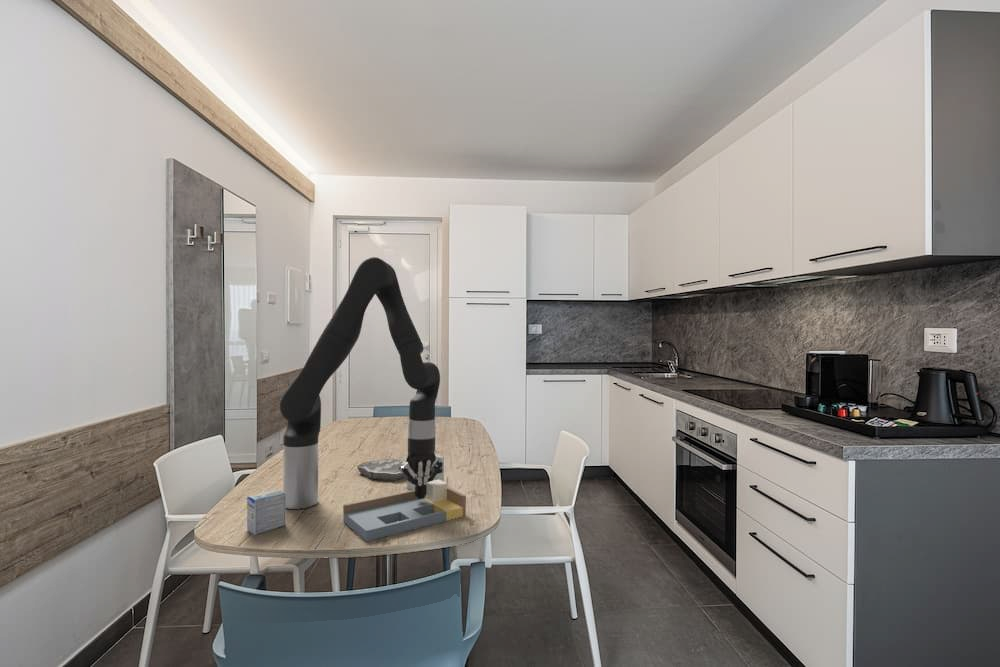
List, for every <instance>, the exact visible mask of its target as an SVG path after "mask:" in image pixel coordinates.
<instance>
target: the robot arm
mask: <svg viewBox="0 0 1000 667" xmlns="http://www.w3.org/2000/svg"><path fill="white" fill-rule="evenodd" d="M399 284H400V283H399V280H398V277H397V273H396V270H395V268H394V267H393V266H392V265H391V264H389V263H387V261H385V260H384V259H381V258H379V257H378V256H377V257H376V256H372V257H371V256H369V257H368V258H365V259H364V260H363V261H361V263H360V264H359V265H358V267H357V269H356V271H355V273H354V275H353V277H352V279H351V282H350V283H349V286H348V288H347V290H346V292H345V294H344V296H343V298H342V299H341V301H340V303H339V304H338V306H337V308H336V310H335V311H334V313H333V315H332V317H331V319H329V322H328V323H327V324H326V326H325V327H324V330H323V331H322V333H321V335H320V336H319V337H318V340H317V342H316V343H315V345H314V347H313V349H312V350H311V353H310V354H309V356H308V358H307V360H306V362H305V364H304V366H303V368H302V369H301V372H300V373H299V374H298V375H297V377H296V378H295V380H294V381H293V383H292V384H290V387H289V388H287V390H286V391H285V393H284V394H283V396H282V397H281V400H280V403H279V410H280V414H281V415H282V417H283V418H284V419H285V420H286V421H287V427H286V430H285V433H284V435H283V474H282V476H283V482H282V483H283V484H282V485H283V487H282V488H283V490H282V491H283V492H285V493H286V509H291V510H300V509H301V508H302V509H306V508H310V507H314V506H315V505H317V504H318V502H319V436H320V432H321V420H322V419H321V418H322V400H321V397H320V394H321V391H322V390H323V388H324V387H325V385H326V383H327V382H328V381H329V379H330V378H331V377H332V375H333V374H334V373H335V372H336V371H337V370H338V369H339V368H340V366H341V365H342V364H343V363H344V362H345V360H346V359H347V358H348V356H349V354H350V353H351V352H352V350H353V348H354V346H355V345H356V343H357V342H358V339H359V338H360V334H361V331H362V327H363V322H364V316H365V313H366V310H367V308H368V306H369V304H370V303H371V301H372V300H373V298H374V297H375V296H376V297H377V298H378V300H379V302H380V303H381V306H382V307H383V310H384V312H385V315H386V321H387V325H388V330H389V333H390V336H391V338H392V341H393V344H394V346H395V348H396V350H397V352H398V355H399V359H400V365H401V370H402V374H403V378H404V381H405V382H406V383H407V385H408V386H409V387H410V388H411V389H414V390H416V392H415V396H414V397H412V398H410V400H409V409H408V410H409V415H408V418H409V419H408V426H407V454H408V457H407V456H406V460H405V461H406V463H405V464H404V465H403V466H400V467H399V470H400V471H401V473H402V474H403V475H404V477H403V478H405V480H406V481H407V480H408V482H410V483H412V484H413V485H415V496H417V498H419V499H422V498H425V496H426V490H427V483H428V482H430V481H433V479H434V478H435V476H436V475H437V473H438V471H439V470H440V468H441V467H442V465H443V463H442V462H440V461H438V460H437V459H436V456H435V455H436V454H435V453H436V452H435V451H436V433H437V432H436V429H437V428H436V427H437V426H436V420H435V419H436V401H437V397H438V393H439V389H440V386H441V385H440V384H441V373H440V369H439V367H438V366H437V365H436V364H435V363H433V362H429V361H428V362H424V361H423V358H422V355H421V354H422V353H423V352H424V349H425V348H424V345H423V342H422V340H421V338H420V336H419V333H418V331H417V329H416V326H415V324H414V322H413V320H412V318H411V315H410V314H409V311H408V309H407V306H406V304H405V301H404V298H403V295H402V292H401V291H402V290H401V287H400V285H399ZM431 466H432V467H431ZM409 467H410V468H411V469H412V471H413V476H414V478H413V476H412V475H411V474H410V473H409V471H410V469H409ZM430 468H431V469H430ZM313 505H314V506H313Z"/></svg>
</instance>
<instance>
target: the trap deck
mask: <svg viewBox="0 0 1000 667" xmlns="http://www.w3.org/2000/svg"><path fill="white" fill-rule="evenodd" d="M466 496H467V495H466V494H464V493H461V492H460V491H458V490H455V489H454V488H451V487H449V486H447V499H446V500H441V501H437V502H431V501H429V500H428V499H426V498H422V499H419V498H417V496H415V490H412V489H411V490H407V491H403V492H398V493H393V494H388V495H383V496H379V497H378V496H377V497H373V498H369V499H368V498H367V499H364V500H358V501H354V502H349V503H345V504H343V511H342V512H343V514H342V515H343V517H342V521H344V522H345V523H346V524H347V525H346V524H345V523H344V522H343V523H344V524H345V525H346V526H348V527H349V529H351V528H352V529H353V530H354V531H353V530H352V529H351V530H352V531H353V532H355V534H357V535H358V536H359V537H360V536H361V537H360V538H361V539H363V540H364V541H365V542H369V540H370V541H374V540H377V539H382V538H386V537H390V536H393V535H396V533H397V534H401V533H404V532H405V533H406V532H408V531H413V530H416V528H417V529H419V528H420V527H421V528H423V526H424V527H428V526H432V525H437V524H439V523H443V522H444V523H445V522H448V521H451V519H452V520H455V518H456V519H458V517H460V518H464V517H466V512H467V511H466V510H467V507H466V506H467V505H466V503H467V500H466V498H467V497H466ZM397 521H398V522H397ZM431 524H432V525H431ZM427 525H428V526H427ZM421 528H420V529H421ZM412 529H413V530H412ZM400 532H401V533H400ZM392 534H393V535H392ZM385 536H386V537H385Z"/></svg>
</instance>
